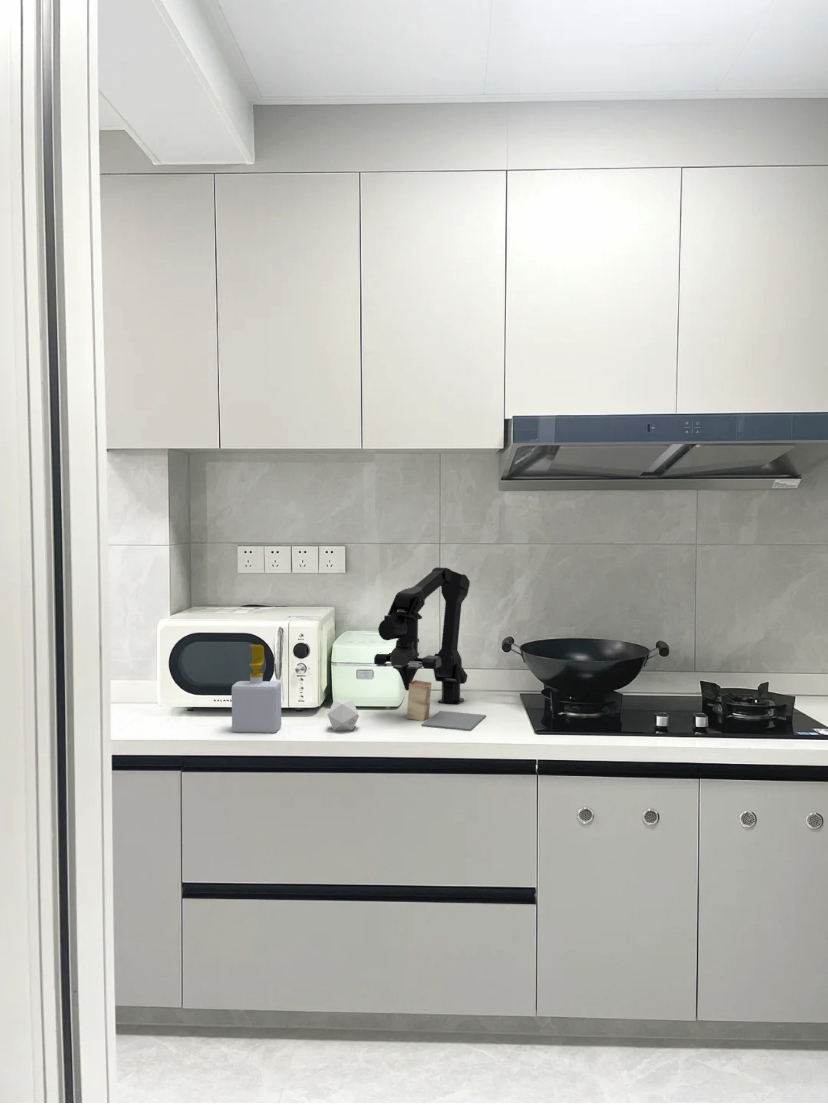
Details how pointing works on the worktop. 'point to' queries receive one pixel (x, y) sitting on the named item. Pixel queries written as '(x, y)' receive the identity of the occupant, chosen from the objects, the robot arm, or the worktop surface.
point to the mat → (454, 720)
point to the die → (343, 715)
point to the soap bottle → (256, 700)
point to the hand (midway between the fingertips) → (407, 690)
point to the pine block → (419, 700)
